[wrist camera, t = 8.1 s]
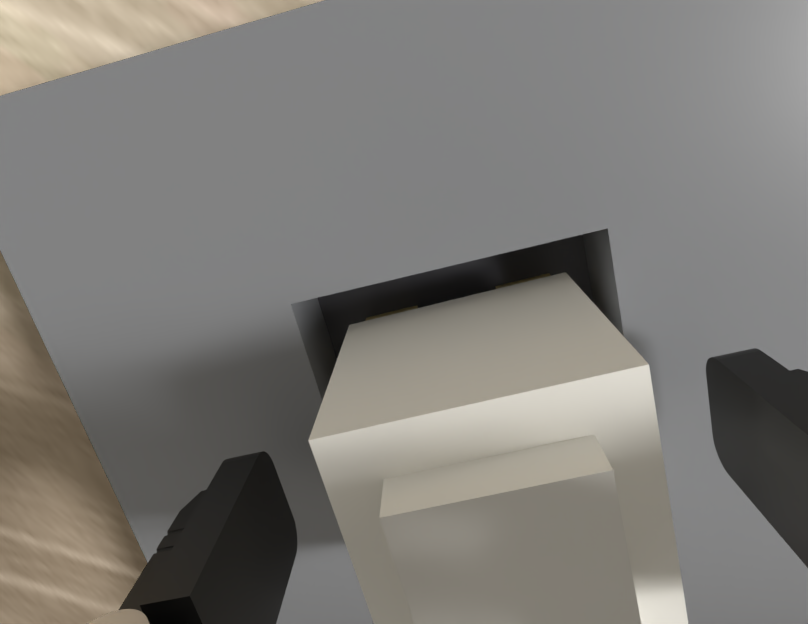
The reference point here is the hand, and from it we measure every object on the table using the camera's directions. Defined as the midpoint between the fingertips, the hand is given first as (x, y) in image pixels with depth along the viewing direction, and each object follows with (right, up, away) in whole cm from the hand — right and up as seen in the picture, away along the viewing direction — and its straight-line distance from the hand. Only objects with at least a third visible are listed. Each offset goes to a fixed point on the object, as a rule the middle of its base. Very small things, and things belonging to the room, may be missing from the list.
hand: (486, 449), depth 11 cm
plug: (0, +1, +3) cm, 3 cm away
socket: (0, +1, +3) cm, 4 cm away
